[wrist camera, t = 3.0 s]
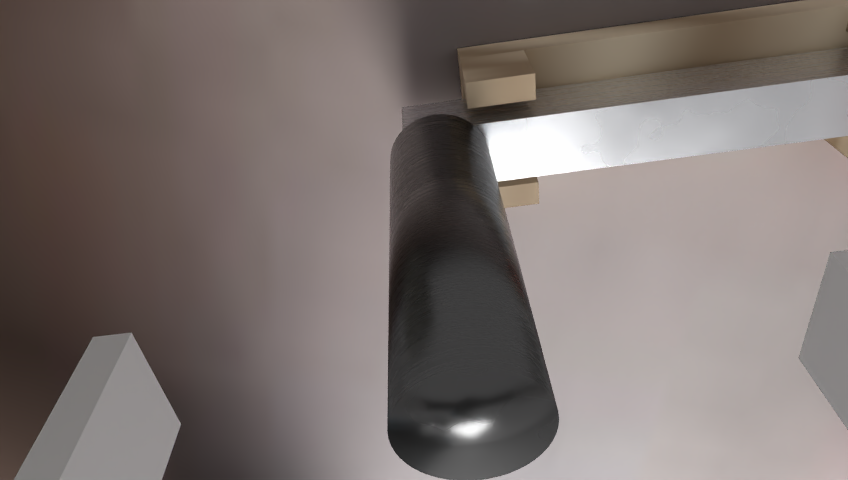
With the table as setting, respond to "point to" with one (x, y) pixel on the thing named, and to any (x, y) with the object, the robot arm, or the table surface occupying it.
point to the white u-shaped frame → (494, 248)
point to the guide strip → (644, 56)
